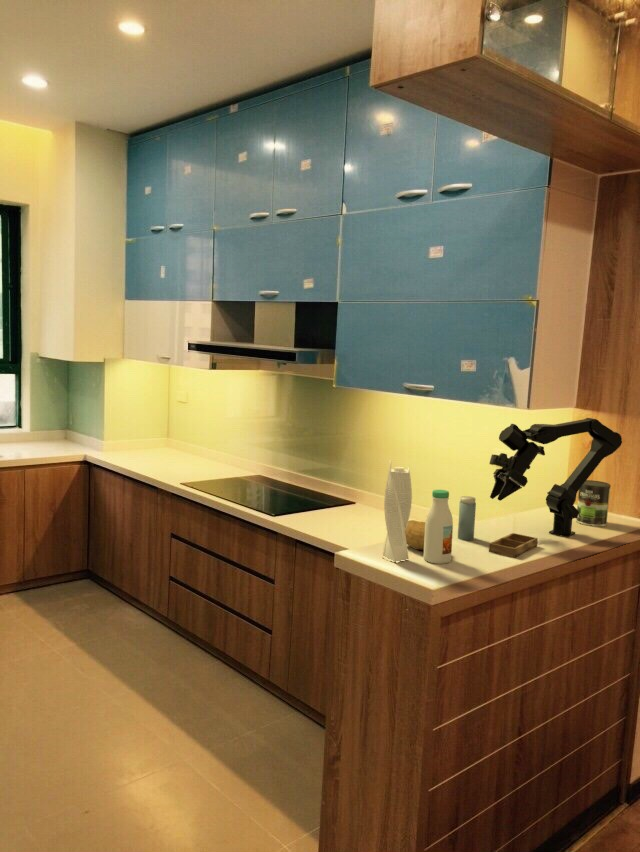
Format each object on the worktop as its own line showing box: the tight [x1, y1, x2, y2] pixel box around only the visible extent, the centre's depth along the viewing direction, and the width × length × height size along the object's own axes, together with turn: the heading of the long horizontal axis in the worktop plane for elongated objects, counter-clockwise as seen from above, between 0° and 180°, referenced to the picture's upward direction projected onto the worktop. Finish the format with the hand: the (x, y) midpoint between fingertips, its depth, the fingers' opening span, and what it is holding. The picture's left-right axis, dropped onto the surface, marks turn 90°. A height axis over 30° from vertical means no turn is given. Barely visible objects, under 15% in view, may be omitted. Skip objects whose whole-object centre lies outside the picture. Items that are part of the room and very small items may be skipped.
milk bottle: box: [423, 489, 454, 565], centre depth 201 cm, size 8×8×20 cm
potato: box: [405, 519, 426, 551], centre depth 213 cm, size 10×14×8 cm
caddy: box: [488, 532, 538, 559], centre depth 216 cm, size 16×8×3 cm, turn 140°
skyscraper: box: [382, 459, 413, 562], centre depth 201 cm, size 8×8×28 cm
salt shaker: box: [457, 495, 477, 541], centre depth 225 cm, size 5×5×13 cm
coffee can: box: [575, 479, 612, 527], centre depth 249 cm, size 10×10×14 cm
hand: (494, 499), depth 227 cm, fingers open, 9 cm apart
